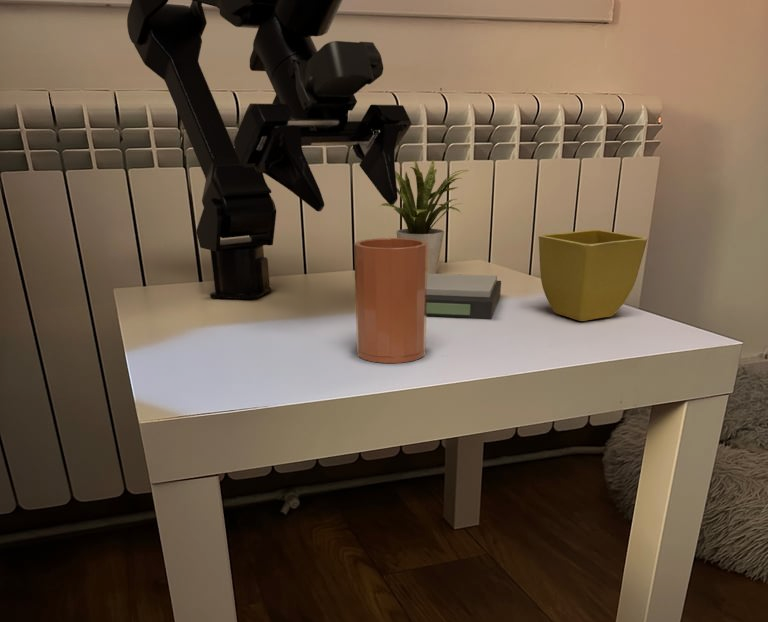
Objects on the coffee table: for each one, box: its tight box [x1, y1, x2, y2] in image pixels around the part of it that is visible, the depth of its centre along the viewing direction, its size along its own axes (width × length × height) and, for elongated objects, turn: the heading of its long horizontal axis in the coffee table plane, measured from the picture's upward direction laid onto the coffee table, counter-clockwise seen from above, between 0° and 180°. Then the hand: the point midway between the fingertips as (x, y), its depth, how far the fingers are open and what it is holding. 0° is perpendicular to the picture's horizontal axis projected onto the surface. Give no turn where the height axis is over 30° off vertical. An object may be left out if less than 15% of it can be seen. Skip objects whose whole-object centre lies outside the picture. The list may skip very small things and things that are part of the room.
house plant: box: [379, 156, 471, 274], centre depth 106 cm, size 14×14×16 cm
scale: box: [426, 273, 502, 320], centre depth 91 cm, size 11×13×3 cm
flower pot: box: [538, 229, 648, 322], centre depth 84 cm, size 9×9×9 cm
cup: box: [353, 237, 428, 364], centre depth 70 cm, size 7×7×10 cm
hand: (359, 205), depth 74 cm, fingers open, 9 cm apart
